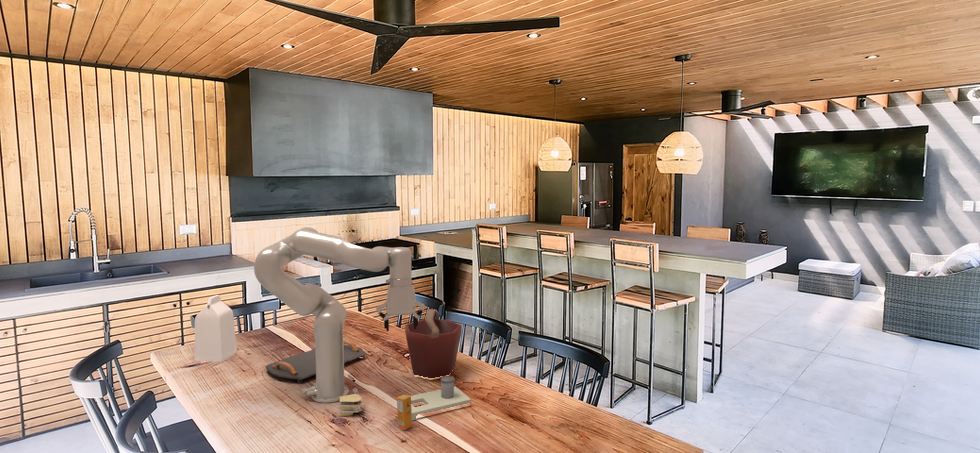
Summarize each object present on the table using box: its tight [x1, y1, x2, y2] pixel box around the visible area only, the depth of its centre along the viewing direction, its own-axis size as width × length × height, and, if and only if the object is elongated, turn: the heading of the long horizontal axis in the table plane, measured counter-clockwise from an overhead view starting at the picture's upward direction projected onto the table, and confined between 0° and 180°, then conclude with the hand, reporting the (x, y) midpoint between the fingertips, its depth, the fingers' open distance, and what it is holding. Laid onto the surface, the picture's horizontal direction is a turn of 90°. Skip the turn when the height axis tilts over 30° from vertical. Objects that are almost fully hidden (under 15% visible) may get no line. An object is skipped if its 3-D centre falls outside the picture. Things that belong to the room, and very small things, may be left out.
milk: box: [194, 294, 238, 363], centre depth 212 cm, size 12×12×26 cm
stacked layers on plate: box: [339, 393, 363, 417], centre depth 164 cm, size 10×9×6 cm
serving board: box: [265, 340, 367, 384], centre depth 205 cm, size 39×23×6 cm, turn 148°
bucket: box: [404, 309, 463, 378], centre depth 198 cm, size 24×22×25 cm
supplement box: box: [396, 393, 413, 431], centre depth 155 cm, size 3×3×10 cm
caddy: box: [410, 375, 472, 422], centre depth 169 cm, size 22×12×9 cm, turn 120°
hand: (401, 329), depth 178 cm, fingers open, 9 cm apart
